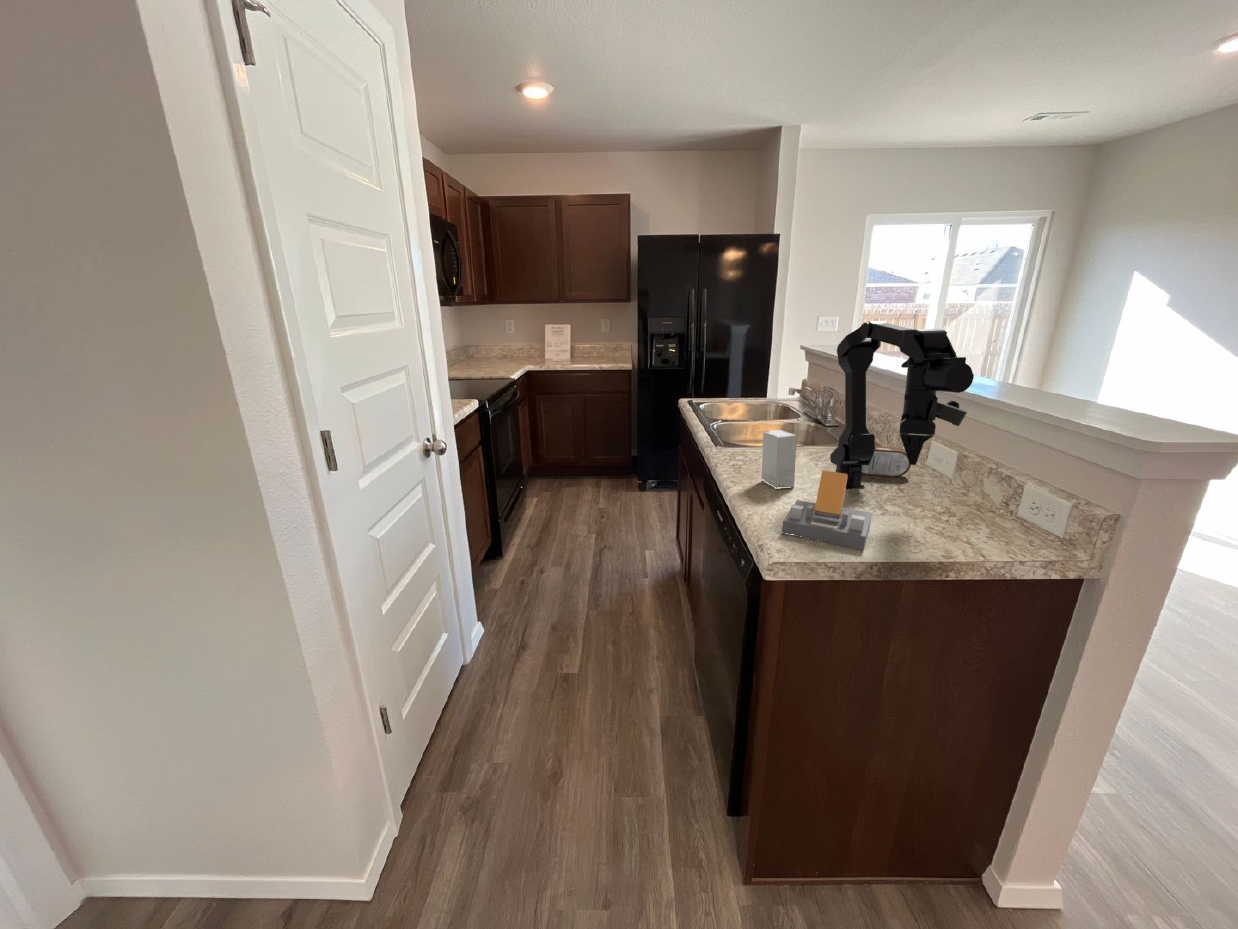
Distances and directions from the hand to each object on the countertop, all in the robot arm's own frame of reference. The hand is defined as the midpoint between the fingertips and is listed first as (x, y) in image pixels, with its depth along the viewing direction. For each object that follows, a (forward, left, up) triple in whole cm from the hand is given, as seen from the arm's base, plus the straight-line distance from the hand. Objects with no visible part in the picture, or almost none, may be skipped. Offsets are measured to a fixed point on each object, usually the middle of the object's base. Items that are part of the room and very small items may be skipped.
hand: (912, 460), depth 107 cm
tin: (-28, +18, -14) cm, 36 cm away
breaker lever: (+2, -22, -9) cm, 24 cm away
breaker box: (0, -20, -14) cm, 25 cm away
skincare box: (-29, -15, -14) cm, 36 cm away
